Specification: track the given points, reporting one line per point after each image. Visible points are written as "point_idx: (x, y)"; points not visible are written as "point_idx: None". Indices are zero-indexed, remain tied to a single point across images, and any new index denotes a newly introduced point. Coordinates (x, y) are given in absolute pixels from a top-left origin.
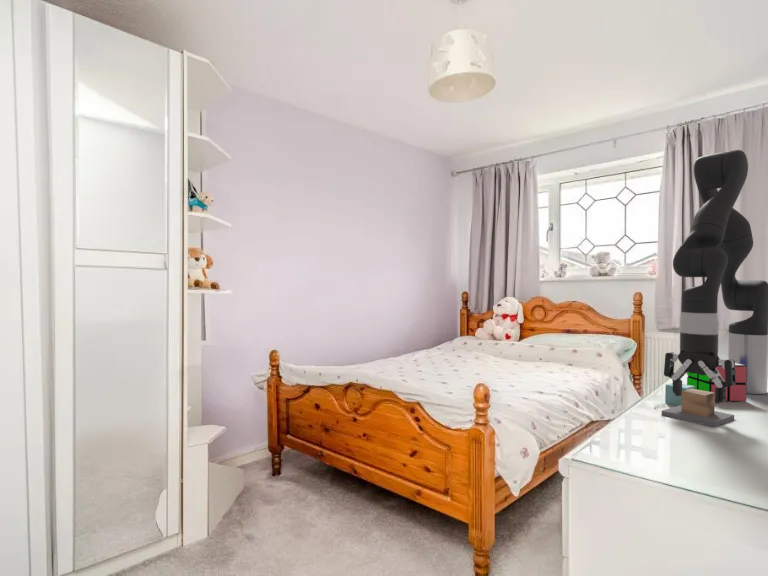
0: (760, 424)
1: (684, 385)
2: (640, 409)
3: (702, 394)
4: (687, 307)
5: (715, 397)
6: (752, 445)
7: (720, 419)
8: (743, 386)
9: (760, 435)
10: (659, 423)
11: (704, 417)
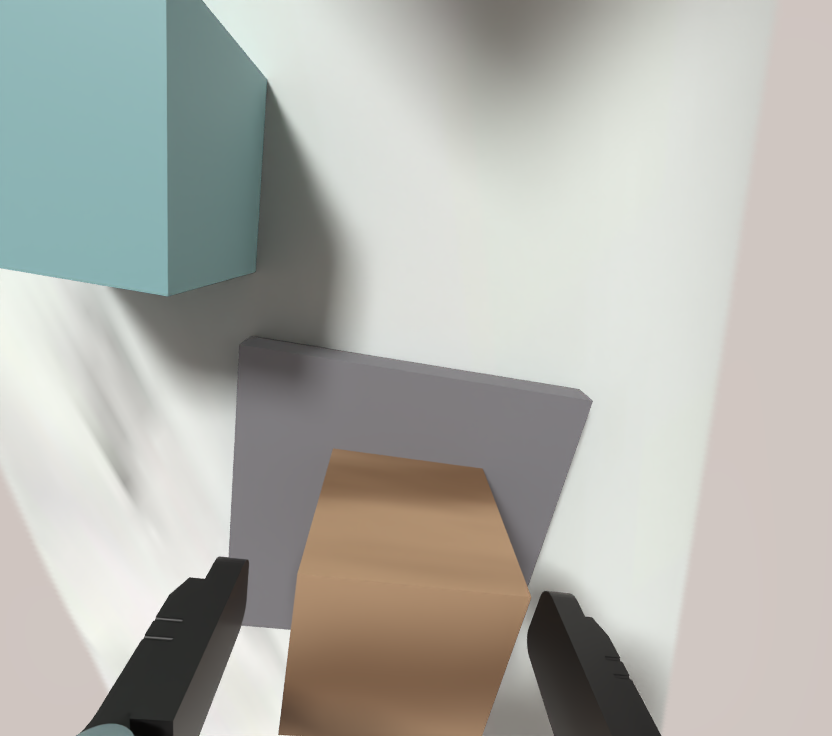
0: (709, 400)
1: (39, 54)
2: (92, 572)
3: (450, 733)
4: None
5: (541, 692)
6: None
7: (525, 575)
8: None
9: (677, 610)
10: None
11: None
